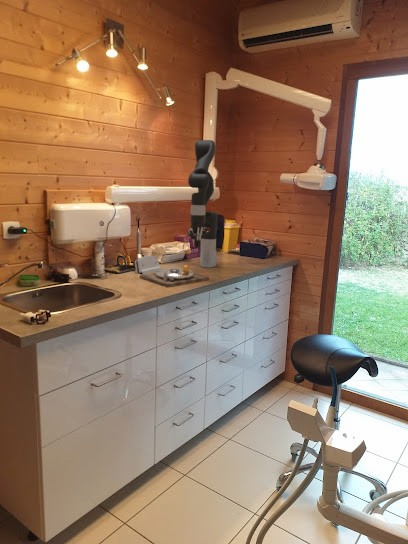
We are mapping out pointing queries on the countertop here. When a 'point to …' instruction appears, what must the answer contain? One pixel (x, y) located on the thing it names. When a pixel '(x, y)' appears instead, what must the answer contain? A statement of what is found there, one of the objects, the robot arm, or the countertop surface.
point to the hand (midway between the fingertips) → (197, 247)
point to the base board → (175, 282)
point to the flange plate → (175, 273)
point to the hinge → (147, 264)
